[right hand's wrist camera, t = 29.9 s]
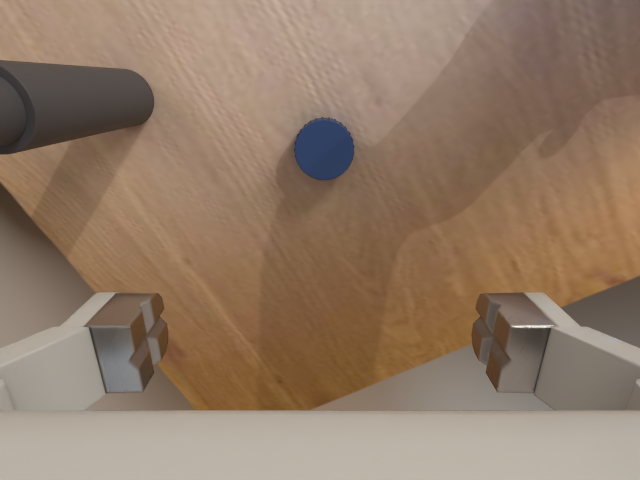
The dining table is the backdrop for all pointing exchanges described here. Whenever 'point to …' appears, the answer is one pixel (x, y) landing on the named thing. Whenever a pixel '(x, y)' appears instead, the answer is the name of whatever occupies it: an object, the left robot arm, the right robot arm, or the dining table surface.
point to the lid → (324, 149)
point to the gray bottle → (66, 103)
